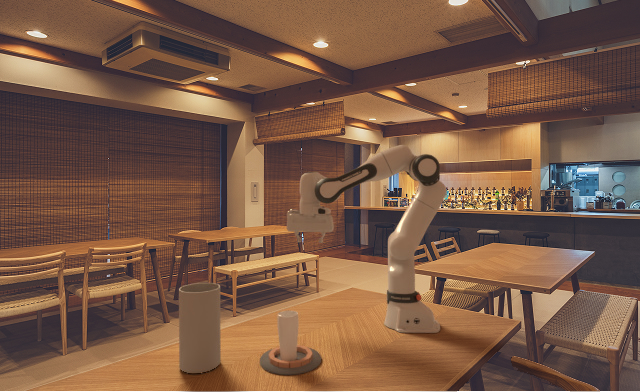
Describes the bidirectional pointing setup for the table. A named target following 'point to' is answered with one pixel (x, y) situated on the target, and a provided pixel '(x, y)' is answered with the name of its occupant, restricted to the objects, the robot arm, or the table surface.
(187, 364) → the cylinder vase
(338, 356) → the table surface
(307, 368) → the round tray
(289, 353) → the drinking glass
